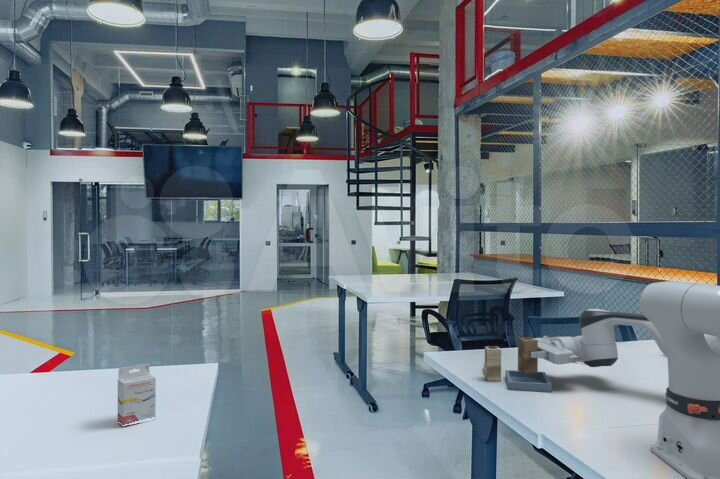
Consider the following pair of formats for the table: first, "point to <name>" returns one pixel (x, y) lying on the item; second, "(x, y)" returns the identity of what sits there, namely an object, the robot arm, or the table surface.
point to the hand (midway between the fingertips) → (525, 352)
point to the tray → (528, 381)
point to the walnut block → (527, 355)
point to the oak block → (492, 364)
